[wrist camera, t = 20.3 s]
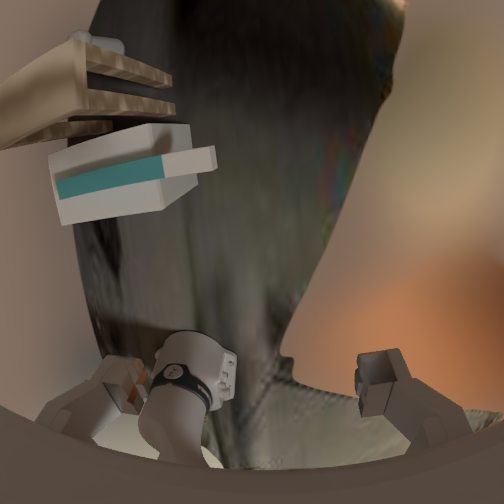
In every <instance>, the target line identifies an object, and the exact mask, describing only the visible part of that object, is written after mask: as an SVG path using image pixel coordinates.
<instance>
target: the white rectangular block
mask: <svg viewBox="0 0 504 504" xmlns="http://www.w3.org/2000/svg"><path fill="white" fill-rule="evenodd" d="M189 149H193V147H192V140H191V133H190V126H189V124H154V123H147V124H143V125H139V126H136V127H132V128H128V129H124V130H121V131H117V132H114V133H111V134H107V135H104V136H101V137H97V138H94V139H91V140H88V141H85V142H82V143H79V144H76V145H74V146H71V147H68V148H65V149H63V150H60V151H57V152H55V153H52V154H49V155H47V159H48V165H49V171H50V176H51V181H52V186H53V191H54V195H55V200H56V204H57V208H58V213H59V216H60V220H61V224H62V226H63V225H69V224H74V223H80V222H86V221H92V220H98V219H104V218H110V217H117V216H123V215H130V214H137V213H144V212H151V211H159V210H163V209H164V208H165V207H167V206H168V205H169V204H171V203H172V202H174V201H175V200H176V199H178V198H179V197H181V196H182V195H183V194H185V193H186V192H188V191H189V190H191V189H192V188H193V187H195V186H196V185H198V181H197V175H196V173H193V174H186V175H180V176H174V177H168V178H162V179H156V180H150V181H145V182H139V183H134V184H129V185H124V186H119V187H114V188H109V189H105V190H100V191H96V192H91V193H87V194H83V195H78V196H74V197H70V198H66V199H62V200H60V199H59V195H58V190H57V185H56V181H59V180H62V179H65V178H68V177H71V176H75V175H78V174H82V173H85V172H89V171H93V170H96V169H100V168H104V167H108V166H112V165H116V164H120V163H124V162H129V161H133V160H137V159H142V158H147V157H151V156H156V155H161V154H167V153H172V152H177V151H183V150H189Z"/></svg>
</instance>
